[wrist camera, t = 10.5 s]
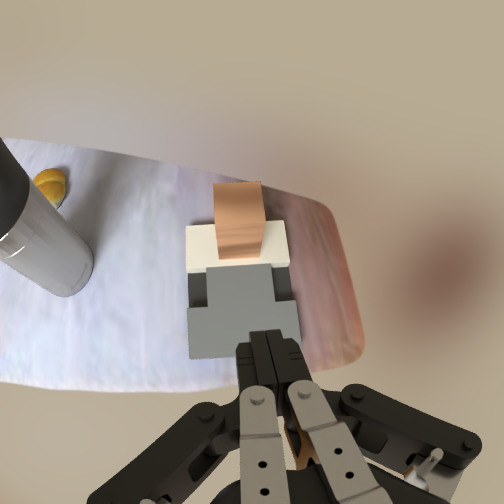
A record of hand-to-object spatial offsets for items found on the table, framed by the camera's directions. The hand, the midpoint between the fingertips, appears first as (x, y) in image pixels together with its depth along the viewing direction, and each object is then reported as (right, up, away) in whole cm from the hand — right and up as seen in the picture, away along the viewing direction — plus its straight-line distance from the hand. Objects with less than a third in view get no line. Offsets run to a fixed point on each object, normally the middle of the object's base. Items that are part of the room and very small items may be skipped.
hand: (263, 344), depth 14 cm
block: (-2, +6, +24) cm, 25 cm away
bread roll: (-36, +14, +29) cm, 48 cm away
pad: (-3, +5, +26) cm, 27 cm away
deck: (-2, -3, +23) cm, 23 cm away
